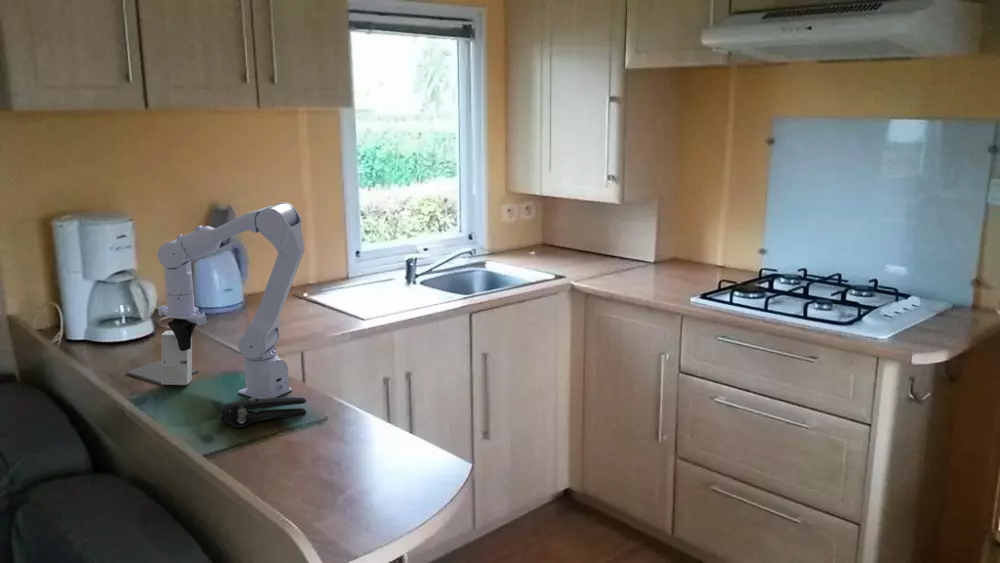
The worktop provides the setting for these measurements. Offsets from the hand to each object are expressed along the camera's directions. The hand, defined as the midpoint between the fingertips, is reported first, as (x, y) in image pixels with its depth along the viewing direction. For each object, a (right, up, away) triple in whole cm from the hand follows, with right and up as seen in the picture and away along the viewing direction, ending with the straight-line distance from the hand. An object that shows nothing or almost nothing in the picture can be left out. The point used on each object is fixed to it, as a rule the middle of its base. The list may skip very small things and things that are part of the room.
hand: (185, 349), depth 184 cm
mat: (-10, -7, +12) cm, 17 cm away
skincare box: (-4, -8, +5) cm, 10 cm away
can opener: (+23, -14, -14) cm, 30 cm away
